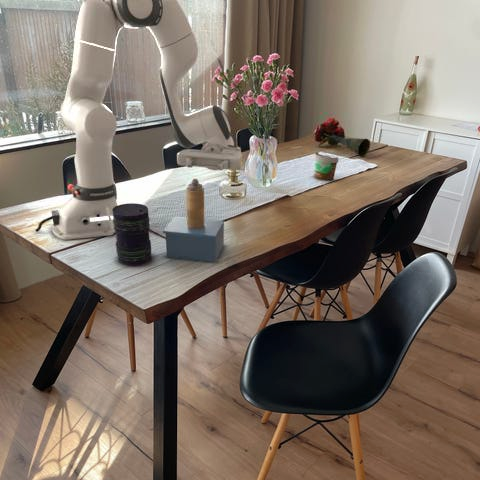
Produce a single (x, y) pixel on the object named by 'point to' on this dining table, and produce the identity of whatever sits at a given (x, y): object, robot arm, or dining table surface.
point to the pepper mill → (195, 205)
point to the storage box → (195, 247)
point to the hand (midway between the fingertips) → (204, 166)
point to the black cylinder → (132, 234)
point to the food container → (324, 167)
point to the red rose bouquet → (340, 137)
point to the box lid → (180, 228)
